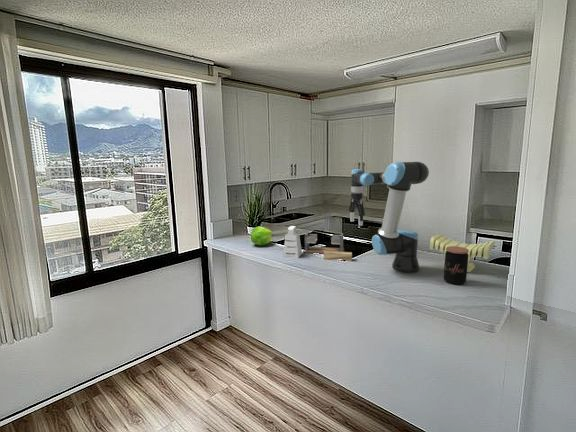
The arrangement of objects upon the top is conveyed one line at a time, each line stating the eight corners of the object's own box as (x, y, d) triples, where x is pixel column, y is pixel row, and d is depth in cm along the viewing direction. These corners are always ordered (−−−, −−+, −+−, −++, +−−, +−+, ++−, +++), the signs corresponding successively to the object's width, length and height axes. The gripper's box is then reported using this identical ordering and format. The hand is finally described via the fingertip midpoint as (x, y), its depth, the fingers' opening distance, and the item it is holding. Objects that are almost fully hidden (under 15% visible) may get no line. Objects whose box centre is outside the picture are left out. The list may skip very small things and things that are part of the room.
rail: (351, 261, 207) (351, 254, 206) (323, 259, 212) (323, 252, 211) (351, 259, 210) (352, 252, 210) (324, 257, 215) (324, 250, 214)
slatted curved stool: (428, 265, 195) (430, 237, 192) (437, 259, 207) (439, 232, 203) (485, 277, 175) (488, 246, 172) (491, 269, 186) (494, 240, 183)
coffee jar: (440, 281, 171) (442, 249, 168) (447, 276, 178) (450, 244, 175) (461, 287, 163) (464, 253, 160) (468, 281, 171) (471, 248, 167)
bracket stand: (342, 255, 218) (342, 236, 216) (303, 253, 225) (303, 235, 222) (343, 249, 231) (344, 232, 228) (306, 248, 237) (306, 230, 235)
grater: (283, 257, 218) (282, 228, 214) (287, 252, 228) (287, 225, 224) (298, 258, 215) (297, 229, 211) (302, 253, 225) (301, 225, 221)
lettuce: (277, 243, 254) (278, 227, 247) (258, 252, 240) (259, 236, 234) (264, 235, 262) (265, 221, 256) (245, 244, 249) (245, 229, 243)
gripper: (370, 194, 204) (369, 227, 208) (354, 190, 228) (353, 219, 232) (359, 195, 203) (359, 227, 207) (344, 190, 226) (344, 220, 230)
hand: (356, 223), depth 219 cm, fingers open, 13 cm apart
